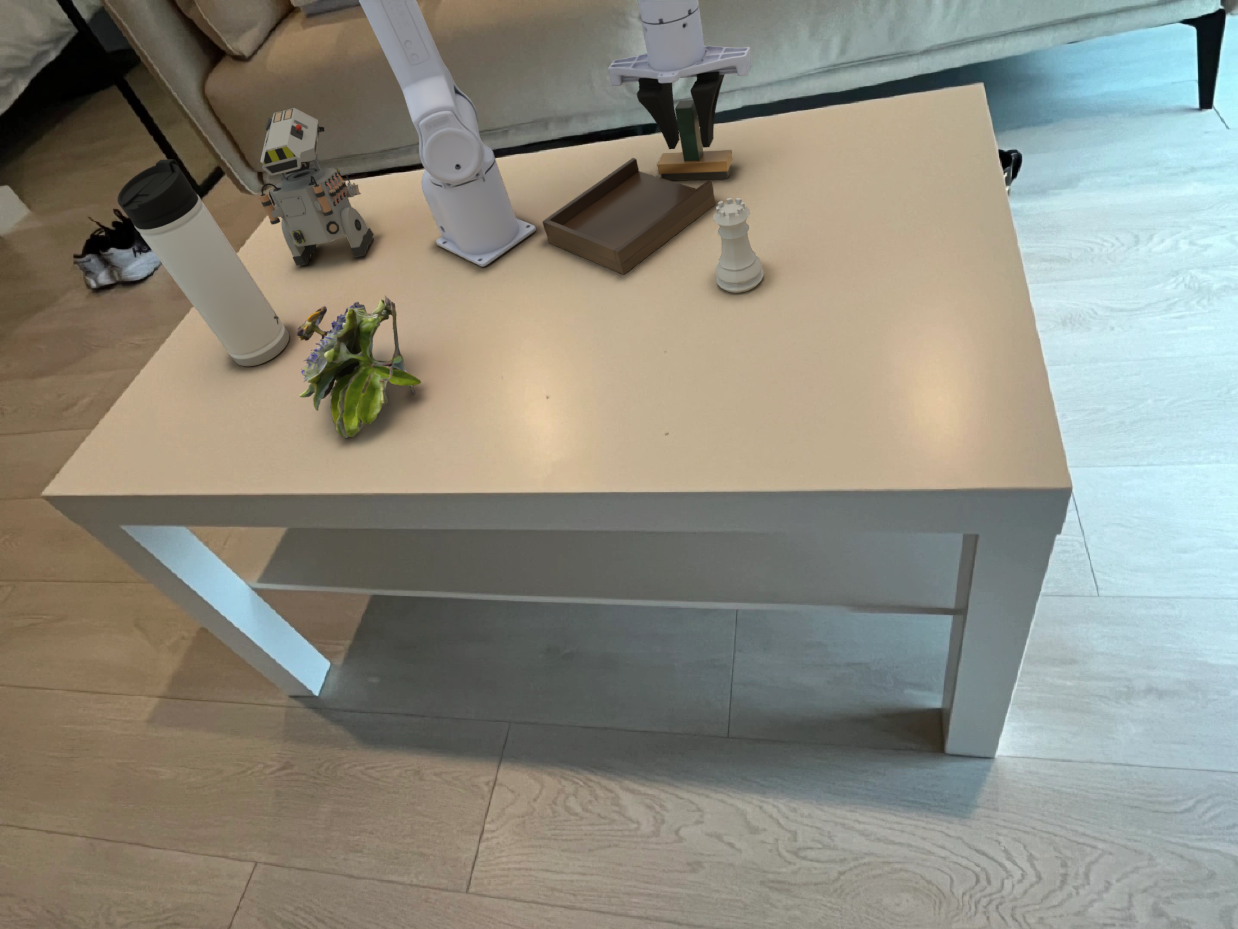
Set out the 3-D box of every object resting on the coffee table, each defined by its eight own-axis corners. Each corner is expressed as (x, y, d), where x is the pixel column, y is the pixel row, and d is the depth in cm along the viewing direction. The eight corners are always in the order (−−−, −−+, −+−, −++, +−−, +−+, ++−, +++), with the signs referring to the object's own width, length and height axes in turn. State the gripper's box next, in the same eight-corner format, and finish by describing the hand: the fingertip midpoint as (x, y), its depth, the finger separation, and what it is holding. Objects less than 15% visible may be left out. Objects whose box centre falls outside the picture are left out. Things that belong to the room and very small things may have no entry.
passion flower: (374, 425, 83) (343, 307, 81) (461, 410, 79) (431, 285, 76) (291, 450, 73) (254, 317, 71) (385, 435, 69) (348, 292, 66)
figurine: (389, 212, 102) (332, 93, 91) (361, 266, 95) (296, 144, 84) (324, 222, 104) (261, 107, 93) (292, 276, 97) (219, 158, 86)
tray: (548, 242, 89) (541, 221, 87) (637, 179, 94) (632, 157, 92) (623, 274, 82) (617, 252, 80) (715, 204, 87) (712, 180, 85)
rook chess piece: (762, 293, 75) (753, 217, 69) (713, 296, 76) (701, 221, 70) (766, 264, 78) (758, 188, 72) (719, 267, 79) (708, 193, 73)
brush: (660, 182, 92) (645, 111, 86) (665, 170, 94) (652, 100, 88) (729, 179, 89) (719, 106, 83) (733, 168, 91) (724, 95, 85)
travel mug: (303, 328, 88) (193, 156, 74) (268, 369, 85) (145, 196, 70) (259, 325, 91) (145, 158, 76) (223, 365, 87) (96, 198, 72)
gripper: (587, 36, 79) (618, 165, 89) (733, 21, 74) (748, 160, 84) (610, 6, 83) (637, 132, 93) (750, -11, 78) (762, 125, 88)
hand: (691, 143), depth 89 cm, fingers open, 3 cm apart
